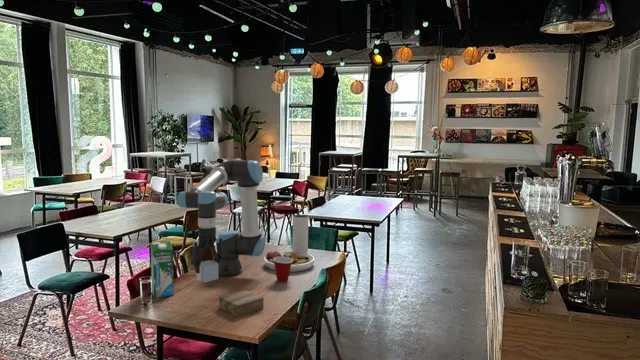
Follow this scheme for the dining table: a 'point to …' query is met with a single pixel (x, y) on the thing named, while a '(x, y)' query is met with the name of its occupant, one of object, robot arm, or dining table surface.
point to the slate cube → (209, 271)
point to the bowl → (299, 259)
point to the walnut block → (241, 303)
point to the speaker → (300, 233)
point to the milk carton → (162, 269)
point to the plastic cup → (282, 268)
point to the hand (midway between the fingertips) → (207, 277)
